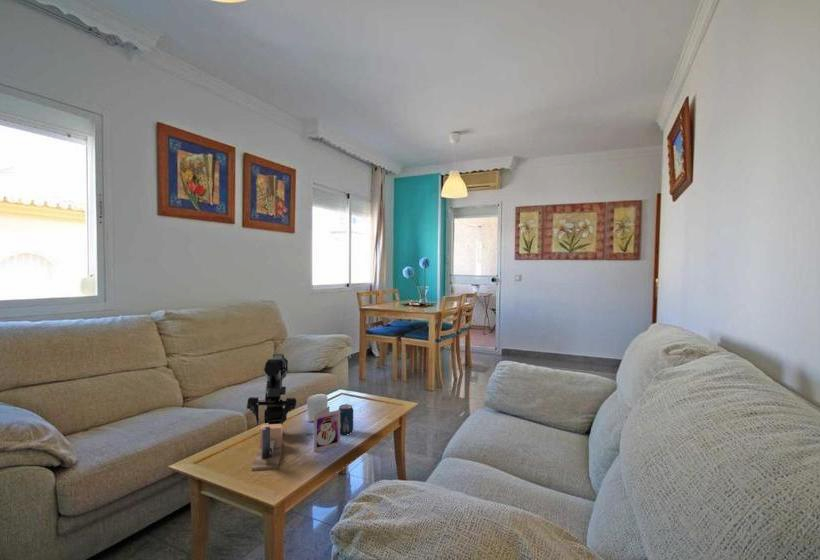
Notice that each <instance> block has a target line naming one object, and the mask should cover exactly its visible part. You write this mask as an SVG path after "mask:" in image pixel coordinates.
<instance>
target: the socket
mask: <svg viewBox="0 0 820 560" xmlns="http://www.w3.org/2000/svg"><path fill="white" fill-rule="evenodd" d="M264 427H270V439H276V448H279V447H281V445H282V442H283V436H282V431H283V425H282V424H269V425H268V424H262V425H261V427H260V431H259V432H260V433H259V434H260V435H259V439H260V440H259V447H260V449H261V448H262V428H264Z"/></svg>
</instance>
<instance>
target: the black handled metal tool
mask: <svg viewBox="0 0 820 560" xmlns="http://www.w3.org/2000/svg"><path fill="white" fill-rule="evenodd" d="M271 450H272V449H270V427H264V428H262V459H263V460H268V459H269V457H270V454H271Z"/></svg>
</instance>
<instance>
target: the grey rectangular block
mask: <svg viewBox="0 0 820 560" xmlns="http://www.w3.org/2000/svg"><path fill="white" fill-rule="evenodd" d="M270 449H272V450H271V454H270V457H269V459H271V458H273V456H274V453H275V449H276V439H270ZM261 459H262V448H261Z"/></svg>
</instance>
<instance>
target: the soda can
mask: <svg viewBox="0 0 820 560" xmlns="http://www.w3.org/2000/svg"><path fill="white" fill-rule="evenodd" d="M338 410H340V434H342V435H341V436H348V435H347V434H349V435H351V434H352V433H353V431H354V408H353V406H352V405H351V404H347V403H346V404H341V405H339V408H338ZM350 433H351V434H350Z"/></svg>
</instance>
